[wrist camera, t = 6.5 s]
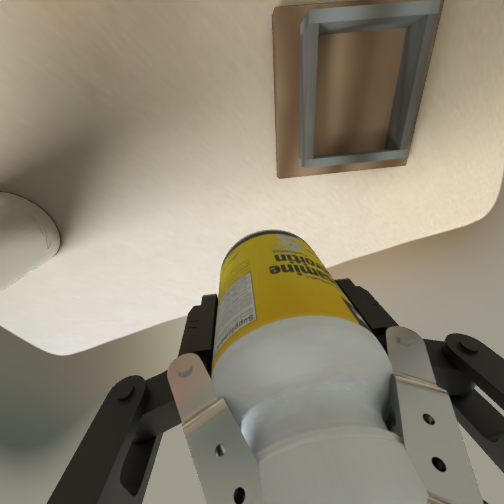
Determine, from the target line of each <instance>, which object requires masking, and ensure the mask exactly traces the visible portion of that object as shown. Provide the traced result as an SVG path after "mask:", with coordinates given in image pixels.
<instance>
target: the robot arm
mask: <svg viewBox="0 0 504 504" xmlns="http://www.w3.org/2000/svg"><path fill="white" fill-rule="evenodd" d="M59 247H60V236H59V232H58V230H57V227H56V225H55V224H54V222H53V221H52V219H51V218H50V217H49V216H48V215H47V214H46V213H45V212H44V211H43V210H42V209H41V208H39V207H38V206H37V205H35V204H34V203H32V202H30V201H29V200H27V199H25V198H22V197H20V196H17V195H14V194H10V193H5V192H0V292H1V291H3V290H4V289H6V288H7V287H9V286H10V285H12V284H13V283H15V282H16V281H18V280H19V279H21V278H22V277H24V276H25V275H27V274H28V273H30V272H31V271H33V270H34V269H36V268H37V267H39V266H40V265H42V264H43V263H45V262H46V261H48V260H49V259H51V258H52V257H53V256H54V255H55V254H56V253H57V252H58V249H59ZM334 281H335V282H336V283H337V285H338V286H339V287H340V289H341V290H342V292H343V293H344V294H345V296H346V297H347V298H348V300H349V301H350V303H351V304H352V305H353V307H354V308H355V309H356V311H357V312H358V313H359V315H360V316H361V317H362V319H363V320H364V322H365V323H366V324H367V326H368V327H369V328H370V330H371V331H372V333H373V334H374V335H375V337H376V338H377V339H378V341H379V342H380V344H381V345H382V347H383V348H384V350H385V352H386V354H387V356H388V358H389V360H390V363H391V366H392V374H391V383H390V391H389V397H388V402H387V406H386V409H385V413H384V416H383V418H382V419H383V421H384V423H385V425H386V427H387V429H388V431H390V432H392V433H395V434H396V435H398V436H399V437H400V438H401V443H402V444H403V445H404V448H405V451H406V453H407V455H408V457H409V459H410V461H411V463H412V465H413V467H414V469H415V471H416V472H417V474H418V476H419V478H420V480H421V481H422V483H423V485H424V487H425V489H426V491H427V493H428V496H429V499H428V501H427V504H488V503H487V502H486V501H484V500H483V499H482V497H481V494H480V491H479V488H478V484H477V481H476V478H475V475H474V472H473V469H472V466H471V463H470V460H469V456H468V454H467V450H466V447H465V444H464V441H463V438H462V435H461V432H460V429H459V425H458V422H459V423H460V424H461V426H462V427H463V428H464V429H465V430H466V431H467V432H468V433H469V434H470V436H471V437H472V438H473V439H474V440H475V441H476V442H477V444H478V445H479V446H480V447H481V448H482V449H483V450H484V451H485V453H486V454H487V455H488V456H489V457H490V458H491V459H492V460H493V462H494V463H495V464H496V465H497V466H498V467H499V468H500V469H501V471H502V472H503V473H504V416H502V415H501V414H500V413H499V412H498V411H497V410H496V409H495V408H494V407H493V406H492V405H491V404H490V403H489V402H488V401H487V400H485V399H484V398H483V397H482V396H481V395H480V394H479V393H478V392H477V391H476V390H475V389H474V388H475V386H476V385H477V386H478V387H479V388H480V389H481V390H483V391H484V392H485V393H486V394H487V395H488V396H489V397H490V398H491V399H492V400H493V401H494V402H496V403H497V404H498V405H499V406H500V407H501V408H502V409H503V410H504V359H503V358H502V357H500V356H499V355H498V354H496V353H495V352H494V351H492V350H491V349H490V348H488V347H487V346H486V345H484V344H483V343H481V342H480V341H478V340H476V339H474V338H472V337H470V336H467V335H463V334H458V333H456V334H455V333H454V334H449V335H448V336H447V337H446V339H445V341H444V342H443V341H436V340H435V341H434V340H428V339H422V338H421V337H420V336H419V335H418V334H417V333H416V332H414V331H412V330H410V329H408V328H405V327H401V326H399V325H398V324H397V323H396V322H395V321H394V320H393V319H392V318H391V316H390V315H389V314H388V313H387V312H386V311H385V310H384V309H383V307H382V306H381V305H379V303H378V302H377V301H376V300H375V299H374V297H372V295H371V294H370V293H369V292H368V291H367V290H365V289H363V288H362V287H360V286H355V285H354V284H353V283H352V282H351V280H350V279H348V278H346V279H338V280H334ZM217 306H218V297H217V294H211V295H203V297H202V302H201V305H199V306H194V307H193V308H192V309H191V311H190V312H189V313H188V317H187V321H186V322H187V323H186V325H185V330H184V334H183V338H182V342H181V346H180V350H179V355H178V357H177V358H176V359H175V360H174V361H173V362H172V363H171V365H170V366H169V368H168V370H166V371H165V372H163V373H161V374H159V375H157V376H154V377H152V378H150V379H148V380H144V379H143V378H142V377H141V376H137V375H134V376H129V377H127V378H124V379H123V380H121V381H119V382H118V383H117V384H116V385H115V386H114V387H113V388H112V389H111V390H110V392H109V393H108V395H107V397H106V399H105V400H104V402H103V404H102V406H101V408H100V409H99V411H98V413H97V415H96V416H95V418H94V420H93V422H92V424H91V425H90V427H89V429H88V431H87V433H86V434H85V436H84V438H83V440H82V441H81V443H80V445H79V447H78V449H77V450H76V452H75V454H74V456H73V458H72V460H71V461H70V463H69V465H68V466H67V468H66V470H65V472H64V474H63V475H62V477H61V479H60V481H59V483H58V484H57V486H56V488H55V490H54V491H53V493H52V495H51V497H50V499H49V500H48V502H47V504H142V501H143V498H144V495H145V491H146V488H147V485H148V481H149V478H150V475H151V472H152V468H153V465H154V462H155V458H156V455H157V452H158V448H159V445H160V441H161V438H162V435H163V432H165V431H167V430H169V429H170V428H172V427H174V426H176V425H178V424H180V423H182V424H183V425H182V426H183V430H184V434H185V437H186V440H187V443H188V446H189V449H190V452H191V455H192V458H193V461H194V464H195V467H196V470H197V474H198V477H199V480H200V483H201V486H202V489H203V492H204V495H205V498H206V501H207V504H263V494H262V484H261V476H260V468H259V464H258V462H257V461H256V459H255V457H254V455H253V453H252V451H251V449H250V447H249V445H248V444H247V442H246V440H245V438H244V436H243V434H242V432H241V430H240V428H239V427H238V425H237V423H236V421H235V419H234V417H233V415H232V413H231V411H230V409H229V408H228V406H227V404H226V402H225V400H224V399H223V398H222V397H221V398H220V397H218V396H217V395H216V393H215V391H214V388H213V382H212V380H211V372H212V360H213V349H214V338H215V327H216V317H217ZM457 421H458V422H457ZM243 496H245V500H244V497H243Z"/></svg>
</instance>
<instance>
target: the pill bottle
mask: <svg viewBox="0 0 504 504" xmlns="http://www.w3.org/2000/svg"><path fill="white" fill-rule="evenodd" d="M391 374H392V366H391V363H390V360H389V358H388V356H387V354H386V352H385V350H384V348H383V347H382V345H381V344H380V342H379V341H378V339H377V338H376V337H375V335H374V334H373V333H372V331H371V330H370V328H369V327H368V326H367V324H366V323H365V322H364V320H363V319H362V317H361V316H360V315H359V313H358V312H357V311H356V309H355V308H354V307H353V305H352V304H351V303H350V301H349V300H348V298H347V297H346V296H345V294H344V293H343V292H342V290H341V289H340V287H339V286H338V285H337V283H336V282H335V281H334V279H333V278H332V276H331V275H330V274H329V272H328V271H327V269H326V268H325V266H324V265H323V264H322V262H321V261H320V259H319V258H318V257H317V255H316V254H315V252H314V251H313V250H312V249H311V247H310V246H309V245H308V244H307V243H306V242H305V241H304V240H303V239H301V238H300V237H298V236H296V235H294V234H292V233H290V232H286V231H282V230H262V231H258V232H255V233H252V234H250V235H247V236H246V237H244V238H242V239H241V240H239V241H238V242H237V243H236V244H235V245H234V246H233V247H232V248H231V249H230V250H229V252H228V253H227V255H226V257H225V259H224V261H223V264H222V268H221V274H220V284H219V295H218V306H217V317H216V327H215V338H214V349H213V360H212V372H211V380H212V382H213V388H214V391H215V393H216V395H217V396H218V397H220V398H221V397H222V398H223V399H224V400H225V402H226V404H227V406H228V408H229V409H230V411H231V413H232V415H233V417H234V419H235V421H236V423H237V425H238V427H239V428H240V430H241V432H242V434H243V436H244V438H245V440H246V442H247V444H248V445H249V447H250V449H251V451H252V453H253V455H254V457H255V459H256V461H257V462H258V464H259V468H260V476H261V484H262V494H263V504H427V501H428V499H429V496H428V493H427V491H426V489H425V487H424V485H423V483H422V481H421V480H420V478H419V476H418V474H417V472H416V471H415V469H414V467H413V465H412V463H411V461H410V459H409V457H408V455H407V453H406V451H405V448H404V445H403V444H402V443H401V438H400V437H399V436H398V435H396V434H395V433H392V432H390V431H388V429H387V427H386V425H385V423H384V421H383V419H382V418H383V416H384V413H385V409H386V406H387V402H388V397H389V391H390V383H391ZM243 497H244V500H245V496H243Z"/></svg>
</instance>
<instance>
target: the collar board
mask: <svg viewBox="0 0 504 504" xmlns="http://www.w3.org/2000/svg"><path fill="white" fill-rule="evenodd" d="M443 3H444V0H358V1H346V2H333V3H320V4H307V5H294V6H281V7H275V8H274V11H273V14H272V33H273V65H274V97H275V129H276V161H277V177H278V178H279V179H282V178H291V177H301V176H310V175H320V174H329V173H339V172H348V171H358V170H367V169H376V168H386V167H395V166H405V165H406V163H407V159H408V155H409V150H410V146H411V142H412V137H413V133H414V129H415V124H416V120H417V116H418V111H419V107H420V103H421V98H422V94H423V90H424V85H425V81H426V77H427V72H428V68H429V63H430V59H431V55H432V50H433V46H434V42H435V37H436V33H437V29H438V24H439V20H440V16H441V11H442V7H443Z"/></svg>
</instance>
